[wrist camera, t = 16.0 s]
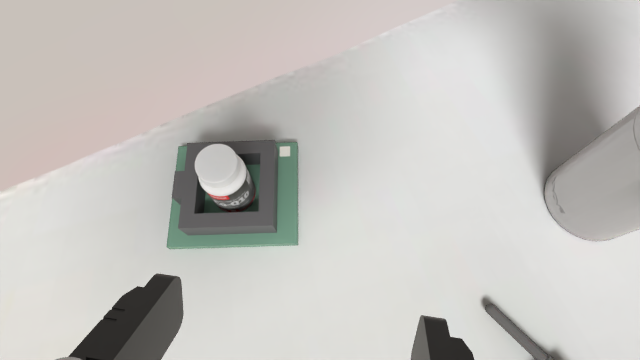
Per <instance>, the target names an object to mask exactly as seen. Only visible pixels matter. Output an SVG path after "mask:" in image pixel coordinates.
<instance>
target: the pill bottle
mask: <svg viewBox="0 0 640 360" xmlns="http://www.w3.org/2000/svg"><path fill="white" fill-rule="evenodd" d="M195 171H196V173H197V175H198V179H199V182H200V185H201V187H202V188H203V189H204V191H205V192H206V193H207V194H208V195H209V196H210V198H211V199H212V200H213V201H214V202H215V204H216V205H217V206H218V207H219V208H220V209H221V210H223V211H225V212H228V213H230V212H242V211H244V210H246V209H247V208H248V207H249V206H250V205H251V204H252V203H253V201H254V199H255V195H256V188H255V184H254V182H253V180H252V178H251V176H250V174H249V172H248V170H247V168H246V166H245V163H244V162H243V160H242V159H241V158H240V157H239V156H238V155H236V153H235V152H234V150H233V149H232V148H230V147H229V146H227V145H224V144H212V145H209V146H207V147H205V148H204V149H203V150H201V151H200V152H199V154H198V155H197V157H196V160H195Z"/></svg>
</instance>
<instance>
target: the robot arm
mask: <svg viewBox="0 0 640 360" xmlns="http://www.w3.org/2000/svg"><path fill="white" fill-rule="evenodd" d="M544 194H545V201H546V204H547V207H548V210H549V211H550V213H551V215H552V216H553V218H554V219H555V220H556V221H557V222H558V224H559V225H560V226H562V227H563V228H564V229H565V230H567V231H568V232H570V233H571V234H573V235H575V236H577V237H580V238H583V239H585V240H591V241H606V240H609V239H613V238H616V237H619V236H622V235H625V234H627V233H630V232H633V231H636V230H639V229H640V106H639V107H637V108H636V109H635V110H633V111H632V112H631V113H629V114H628V115H627V116H625V117H624V118H623V119H621V120H620V121H619V122H618V123H616V124H615V125H614V126H612V127H611V128H610V129H608V130H607V131H606V132H604V133H603V134H602V135H600V136H599V137H598V138H596V139H595V140H594V141H592V142H591V143H590V144H588V145H587V146H586V147H584V148H583V149H582V150H580V151H579V152H578V153H576V154H575V155H574V156H572V157H571V158H570V159H568V160H567V161H566V162H564V163H563V164H562V165H561V166H559V167H558V168H557V169H556V170H554V171H553V172H552V173H551V175H550V176H549V177H548V179H547V182H546V185H545V193H544ZM182 319H183V300H182V286H181V279H180V277H177V276H170V275H164V274H155V275H154V276H153V277H152V278H151V280H150V281H149V282H148V283H147V284H146V286H145V287H138V286H137V287H136V288H134V289H133V290H131V291H129V292H128V293H126V294H125V295H123V296H122V297H121V298H120V299H119V300H118V301H117V303H116V304H115V305H114V306H113V307H112V310H109V312H108V313H107V314H106V315H105V316H104V318H103V320H101V321H100V322H99V323H98V324H97V325H96V326H95V327H94V328H93V330H92V331H91V332H90V333H89V334H88V335H87V336H86V337H85V339H84V340H83V341H82V342H81V343H80V344H79V345H78V346H77V348H76V349H75V350H74V351H73V352H72V353H71V354H70V355H69V356H68V357H65V358H60V359H56V360H161V359H162V357H163V355H164V354H165V352H166V351H167V349H168V347H169V346H170V344H171V342H172V341H173V339H174V337H175V336H176V334H177V333H178V331H179V329H180V326H181V323H182ZM411 360H474V357H473V354H472V352H471V351H470V349H469V348H468V347H467V345H466V344H465V343H464V341H463V340H462V339H460V338H454V337H450V334H449V330H448V325H447V322H446V320H445V319H442V318H436V317H430V316H423V315H421V317H420V320H419V324H418V328H417V332H416V336H415V340H414V344H413V349H412V354H411Z"/></svg>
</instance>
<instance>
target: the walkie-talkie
mask: <svg viewBox="0 0 640 360" xmlns="http://www.w3.org/2000/svg"><path fill="white" fill-rule="evenodd" d="M485 310H486V312H487V313H488V314H489V315H490V316H491V317H492V318H493V319H494V320H495V321H496V322H497V323H498V324H499V325H500V326H501V327H503V328H504V329H505V330H506V331H507V332H508V333H509V334H510V335H511V336H512V337H513V338H514V339H515V340H516V341H517V342H518V343H519V344H520V345H521V346H522V347H523V348H525V349H526V350H527V351H528V352H529V353H530V354H531V355H532V356H533V357H534V358H535V359H536V360H554V359H553V358H552V357H551V356H550V355H547V354H546V353H545V352H544V351H542V350H541V349H540V348H539V347H538V346H537V345H536V344H535V343H534V342H533V341H532V340H531V339H530V338H529V337H528V336H526V335H525V334H524V333H523V332H522V331H521V330H520V329H519V328H518V327H517V326H516V325H515V324H514V323H513V322H511V321H510V320H509V319H508V318H507V317H506V316H505V315H504V314H503V313H502V312H501V311H500V310H499V309H498V308H497V307H495V306H494V305H493V304H488V305H486V307H485Z"/></svg>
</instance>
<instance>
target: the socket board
mask: <svg viewBox="0 0 640 360" xmlns="http://www.w3.org/2000/svg"><path fill="white" fill-rule="evenodd" d="M212 144H224V145H227V146H229V147H230V148H232V149H233V150H234V152H235V153H236V155H238V156H239V157H240V158H241V159H242V160H243V162H244V163H245V166H246V168H247V170H248V172H249V174H250V176H251V178H252V180H253V182H254V184H255V188H256V195H255V199H254V201H253V203H252V204H251V205H250V206H249V207H248V208H247V209H246V210H244V211H242V212H230V213H228V212H225V211H223V210H221V209H220V208H219V207H218V206H217V205H216V204H215V202H214V201H213V200H212V199H211V198H210V196H209V195H208V194H207V193H206V192H205V191H204V189H203V188H202V187H201V185H200V182H199V179H198V175H197V173H196V171H195V160H196V157H197V155H198V154H199V152H200V151H201V150H203V149H204V148H205V147H207V146H209V145H212ZM289 245H298V145H297V142H288V143H275V140H264V141H236V142H208V143H187V146H179V148H178V156H177V164H176V171H175V176H174V184H173V193H172V206H171V214H170V222H169V231H168V239H167V248H169V249H190V248H223V247H256V246H289Z"/></svg>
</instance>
